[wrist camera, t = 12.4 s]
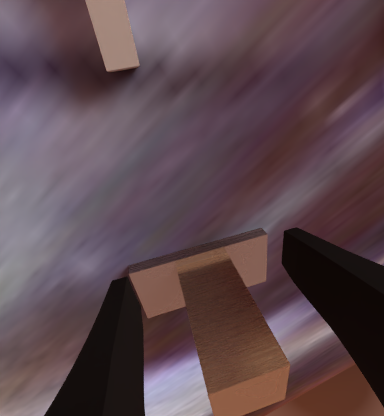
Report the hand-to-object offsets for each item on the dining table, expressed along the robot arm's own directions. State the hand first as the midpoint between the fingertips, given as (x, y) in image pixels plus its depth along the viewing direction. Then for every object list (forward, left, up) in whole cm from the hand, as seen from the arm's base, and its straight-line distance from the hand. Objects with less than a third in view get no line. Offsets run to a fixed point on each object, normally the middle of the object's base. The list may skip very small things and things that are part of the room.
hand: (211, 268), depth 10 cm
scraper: (-3, 0, -3) cm, 4 cm away
